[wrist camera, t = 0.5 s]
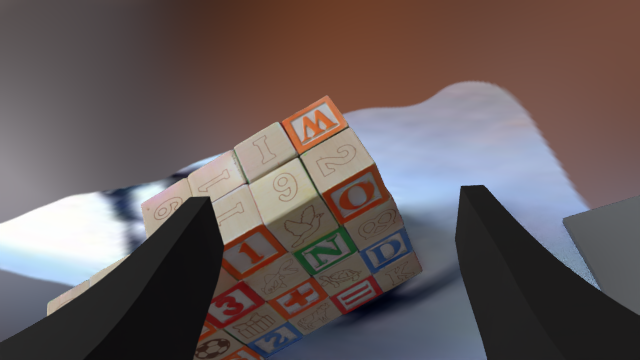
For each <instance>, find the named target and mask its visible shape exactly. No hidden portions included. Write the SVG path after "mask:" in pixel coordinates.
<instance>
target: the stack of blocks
mask: <svg viewBox="0 0 640 360" xmlns="http://www.w3.org/2000/svg"><path fill="white" fill-rule="evenodd" d="M199 196H210V199H211V202H212V205H213V209H214V212H215V216H216V219H217V222H218V226H219V229H220V233H221V236H222V240H223V243H224V246H225V247H224V253H223V259H222V265H221V270H220V275H219V279H218V282H217V286H216V289H215V292H214V295H213V298H212V301H211V304H210V307H209V310H208V314H207V317H206V320H205V323H204V326H203V329H202V332H201V335H200V338H199V341H198V344H197V348H196V351H195V355H194V359H193V360H264V359H265V358H267V357H269V356H271V355H273V354H274V353H276V352H278V351H280V350H281V349H283V348H285V347H287V346H288V345H290V344H292V343H294V342H296V341H297V340H299V339H301V338H302V337H303V336H305V335H307V334H309V333H311V332H313V331H315V330H316V329H318V328H320V327H322V326H323V325H325V324H327V323H329V322H330V321H332V320H334V319H336V318H338V317H339V316H341V315H343V314H347V313H348V312H350V311H352V310H354V309H356V308H358V307H359V306H361V305H363V304H365V303H366V302H368V301H370V300H372V299H374V298H375V297H377V296H379V295H381V294H383V293H384V292H387V291H389V290H390V289H392V288H394V287H396V286H398V285H399V284H401V283H403V282H405V281H407V280H408V279H410V278H412V277H414V276H415V275H417V274H419V273H421V272H422V268H421V266H420V264H419V261H418V259H417V257H416V254H415V252H414V250H413V249H412V246H411V243H410V240H409V238H408V235H407V233H406V230H405V228H404V226H403V225H404V223H403V221H402V218H401V215H400V214H399V211H398V208H397V206H396V203H395V201H394V199H393V197H392V195H391V194H390V193H389V191H388V190H387V188H386V187H385V185H384V182H383V180H382V178H381V175H380V173H379V170H378V168H377V166H376V163H375V162H374V160H373V159H372V157H371V156H370V155H369V153H368V152H367V150H366V149H365V147H364V146H363V144H362V143H361V141H360V140H359V138H358V137H357V135H356V134H355V132H354V131H353V129H352V128H351V127H349V125H348V123H347V122H346V120H345V119H344V117H343V116H342V114H341V113H340V111H339V110H338V109H337V107H336V106H335V104H334V103H333V101H332V100H331V99H330V97H328V96H325V97H323V98H321V99H320V100H318V101H316V102H315V103H313V104H311V105H310V106H308V107H306V108H305V109H303V110H301V111H299V112H297V113H295V114H294V115H293V116H291V117H289V118H287V119H285V120H283V122H282V123H279V122H276V123H274V124H272V125H270V126H269V127H267V128H265V129H263V130H262V131H260V132H258V133H257V134H255V135H253V136H252V137H250V138H248V139H246V140H245V141H243V142H242V143H240V144H238V145H237V146H235V147H234V150H233V151H232V150H230V151H227V152H226V153H224V154H222V155H221V156H219V157H217V158H216V159H214V160H213V161H211V162H209V163H207V164H206V165H204V166H203V167H201V168H199V169H198V170H196V171H194V172H192V173H191V174H190V175H189V176H188V178H184V179H182V180H180V181H179V182H177V183H175V184H174V185H172V186H170V187H169V188H167V189H165V190H164V191H162V192H160V193H159V194H157V195H155V196H154V197H152V198H150V199H149V200H147V201H145V202H144V203H142V204H141V208H142V213H143V219H144V225H145V230H146V236H147V239H148V238H149V237H150V236H151V235H152V234H153V233H154V232H155V231H156V230H157V229H158V228H159V227H160V226H161V225H162V224H163V223H164V222H165V221H166V220H167V219H168V218H169V217H170V216H171V215H172V214H173V213H174V212H175V211H176V210H177V209H178V208H179V207H180V206H181V205H182V204H183V203H184V202H185V201H186V200H187V199H188V198H189V197H199ZM129 255H130V254H129ZM129 255H127V256H126V257H124V258H122V259H120V260H119V261H117V262H115V263H114V264H112V265H110V266H108V267H107V268H105V269H103V270H101V271H100V272H98V273H96V274H95V275H93V276H92V277H90V279H89V280H86V281H84V282H83V283H81V284H79V285H77V286H76V287H74V288H72V289H71V290H69V291H67V292H65V293H63V294H62V295H60V296H59V297H57V298H55V299H53V300H51V301H50V302H49V303H48V307H47V316H48V315H50V314H52V313H53V312H55V311H56V310H58V309H59V308H61V307H62V306H64V305H65V304H67V303H68V302H70V301H71V300H73V299H74V298H76V297H77V296H79V295H80V294H82V293H83V292H85V291H86V290H87V289H89V288H90V287H91V286H93V285H94V284H95V283H97V282H98V281H99V280H101V279H102V278H103V277H105V276H106V275H107V274H108V273H110V272H111V271H112V270H113V269H114V268H116V267H117V266H118V265H119V264H120V263H121V262H123V261H124V260H125V259H126V258H127V257H128V256H129Z"/></svg>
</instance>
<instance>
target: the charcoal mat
mask: <svg viewBox="0 0 640 360" xmlns="http://www.w3.org/2000/svg"><path fill="white" fill-rule="evenodd" d="M563 224H564V226H565V228H566V229H567V231H568V233H569V235H570V236H571V238H572V240H573V242H574V243H575V245H576V247H577V249H578V250H579V252H580V254H581V256H582V257H583V259H584V261H585V263H586V264H587V266H588V268H589V270H590V272H591V273H592V275H593V277H594V279H595V280H596V282H597V284H598V286H599V287H600V289H601V291H602V292H603V293H604V294H606V295H607V296H609V297H611V298H612V299H614V300H615V301H617V302H618V303H620V304H621V305H623V306H625V307H626V308H628V309H630V310H631V311H633V312H635V313H636V314H638V315H640V195H639V196H636V197H632V198H629V199H626V200H622V201H619V202H616V203H612V204H609V205H606V206H602V207H599V208H596V209H592V210H589V211H586V212H582V213H579V214H576V215H572V216H569V217H566V218H563Z"/></svg>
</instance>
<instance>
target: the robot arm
mask: <svg viewBox="0 0 640 360" xmlns="http://www.w3.org/2000/svg"><path fill="white" fill-rule="evenodd" d="M455 242H456V248H457V254H458V260H459V265H460V270H461V274H462V278H463V281H464V284H465V287H466V290H467V294H468V297H469V300H470V303H471V306H472V310H473V313H474V316H475V319H476V322H477V325H478V328H479V332H480V335H481V338H482V341H483V345H484V349H485V352H486V356H487V360H640V315H638V314H636V313H635V312H633V311H631V310H630V309H628V308H626V307H625V306H623V305H621V304H620V303H618V302H617V301H615V300H614V299H612V298H611V297H609V296H607V295H606V294H604V293H603V292H601V291H600V290H598V289H597V288H595V287H594V286H592V285H591V284H590V283H588V282H587V281H585V280H584V279H583V278H581V277H580V276H579V275H577V274H576V273H575V272H573V271H572V270H571V269H569V268H568V267H567V266H566V265H564V264H563V263H562V262H561V261H559V260H558V259H557V258H556V257H555V256H553V255H552V254H551V253H550V252H549V251H548V250H547V249H546V248H544V247H543V246H542V245H541V244H540V243H539V242H538V241H537V240H536V239H535V238H534V237H533V236H532V235H531V234H530V233H529V232H528V231H526V230H525V229H524V228H523V227H522V226H521V225H520V224H519V223H518V222H517V221H516V219H515V218H514V217H513V216H512V215H511V214H510V213H509V212H508V211H507V210H506V209H505V208H504V207H503V206H502V205H501V203H500V202H499V201H498V200H497V199H496V198H495V197H494V196H493V195H492V193H491V192H490V191H489V190H488V189H487V188H486V187H485V186H484V185H471V186H461V189H460V198H459V208H458V217H457V226H456V236H455ZM224 247H225V246H224V243H223V240H222V236H221V233H220V229H219V226H218V222H217V219H216V216H215V212H214V209H213V205H212V202H211V199H210V196H199V197H189V198H188V199H187V200H186V201H185V202H184V203H183V204H182V205H181V206H180V207H179V208H178V209H177V210H176V211H175V212H174V213H173V214H172V215H171V216H170V217H169V218H168V219H167V220H166V221H165V222H164V223H163V224H162V225H161V226H160V227H159V228H158V229H157V230H156V231H155V232H154V233H153V234H152V235H151V236H150V237H149V238H148V239H147V240H146V241H145V242H144V243H143V244H141V245H140V246H139V247H138V248H137V249H136V250H135V251H134V252H133V253H131V254H130V255H129V256H128V257H127V258H126V259H125V260H124V261H123V262H121V263H120V264H119V265H118V266H117V267H116V268H114V269H113V270H112V271H111V272H110V273H108V274H107V275H106V276H105V277H103V278H102V279H101V280H99V281H98V282H97V283H95V284H94V285H93V286H91V287H90V288H89V289H87V290H86V291H85V292H83V293H82V294H80V295H79V296H77V297H76V298H74V299H73V300H71V301H70V302H68V303H67V304H65V305H64V306H62V307H61V308H59V309H58V310H56V311H55V312H53V313H52V314H50V315H48V316H47V317H45V318H43V319H42V320H40V321H38V322H37V323H35V324H33V325H32V326H30V327H28V328H26V329H24V330H23V331H21V332H19V333H17V334H15V335H14V336H12V337H10V338H8V339H6V340H4V341H2V342H0V360H193V359H194V355H195V351H196V348H197V344H198V341H199V338H200V335H201V332H202V329H203V326H204V323H205V320H206V317H207V314H208V310H209V307H210V304H211V301H212V298H213V295H214V292H215V289H216V286H217V282H218V279H219V275H220V270H221V265H222V259H223V253H224Z"/></svg>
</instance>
